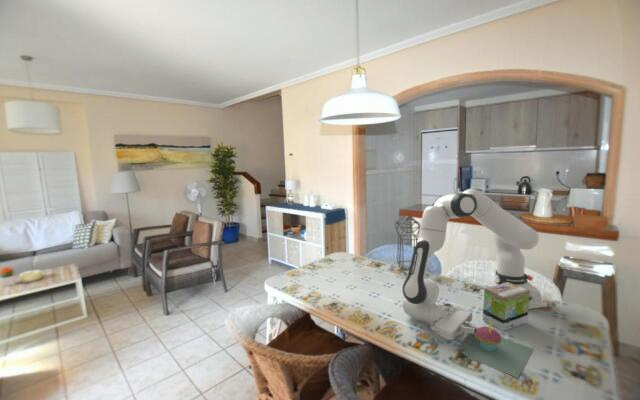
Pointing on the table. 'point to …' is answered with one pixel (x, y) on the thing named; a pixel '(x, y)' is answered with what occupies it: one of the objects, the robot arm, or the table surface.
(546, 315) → the table surface
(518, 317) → the tea box
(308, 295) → the table surface
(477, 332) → the cupcake
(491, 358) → the mat
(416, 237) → the geometric lantern
